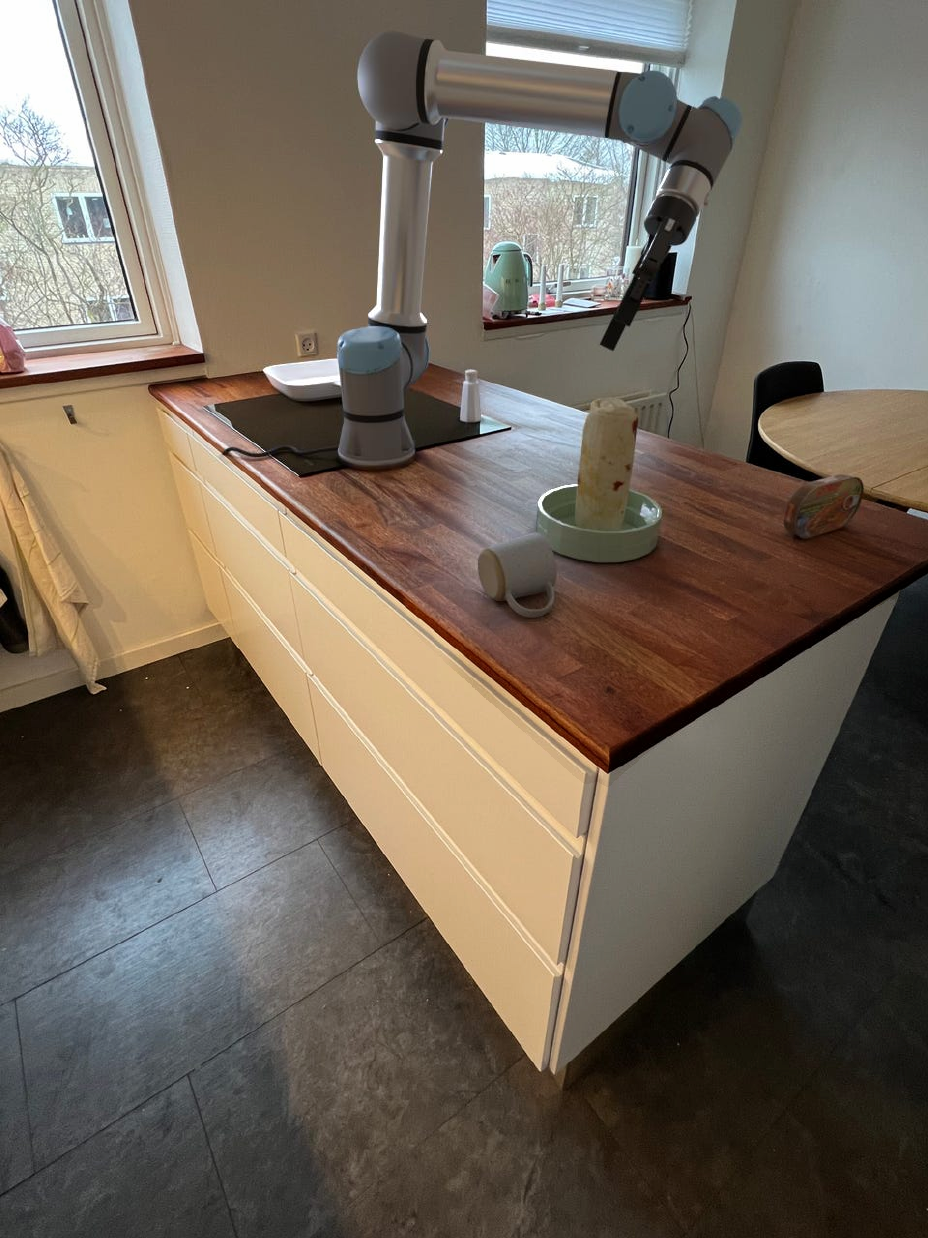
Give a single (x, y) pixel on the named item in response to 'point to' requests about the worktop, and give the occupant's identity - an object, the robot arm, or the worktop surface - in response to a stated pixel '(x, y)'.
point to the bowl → (593, 544)
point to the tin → (823, 505)
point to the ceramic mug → (519, 571)
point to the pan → (306, 379)
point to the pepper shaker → (470, 398)
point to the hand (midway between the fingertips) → (613, 335)
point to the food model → (605, 465)
